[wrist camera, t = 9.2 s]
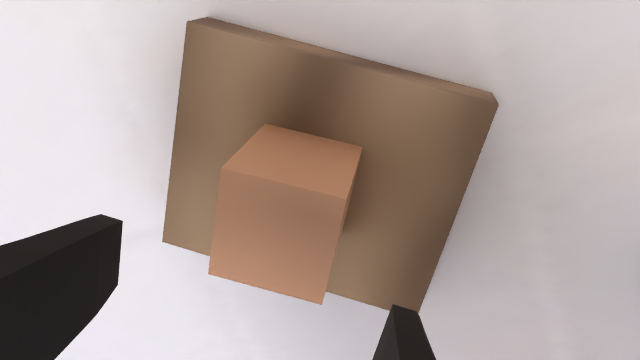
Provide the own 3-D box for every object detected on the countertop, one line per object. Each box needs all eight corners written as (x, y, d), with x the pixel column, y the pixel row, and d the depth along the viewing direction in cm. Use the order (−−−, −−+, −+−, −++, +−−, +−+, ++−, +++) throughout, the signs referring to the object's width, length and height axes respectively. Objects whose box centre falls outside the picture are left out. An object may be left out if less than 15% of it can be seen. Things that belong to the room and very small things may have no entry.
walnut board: (490, 89, 21) (498, 104, 18) (416, 286, 25) (416, 318, 22) (211, 16, 22) (187, 21, 19) (185, 217, 26) (162, 241, 23)
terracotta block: (362, 147, 20) (346, 199, 15) (341, 233, 22) (321, 304, 17) (265, 123, 20) (220, 167, 16) (251, 210, 22) (208, 273, 17)
